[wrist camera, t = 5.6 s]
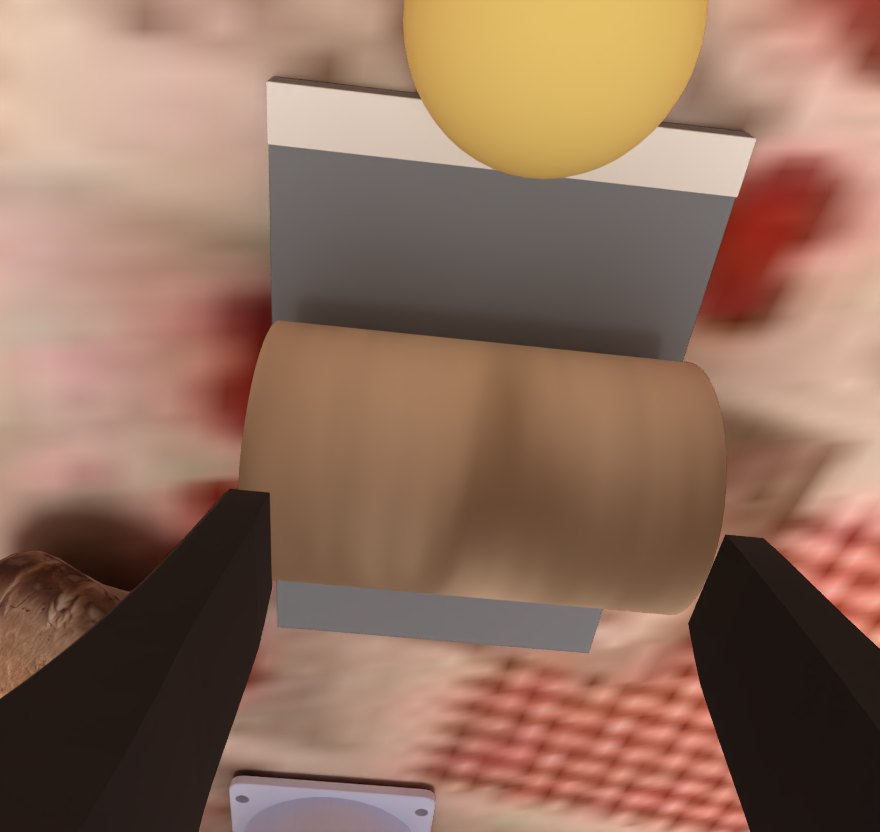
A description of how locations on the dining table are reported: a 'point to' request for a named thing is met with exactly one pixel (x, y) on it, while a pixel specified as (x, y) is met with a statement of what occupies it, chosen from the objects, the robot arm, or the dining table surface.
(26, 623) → the mushroom
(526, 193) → the grey board
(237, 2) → the dining table surface
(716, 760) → the dining table surface
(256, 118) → the dining table surface
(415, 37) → the ball
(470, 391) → the roller
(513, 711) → the dining table surface
